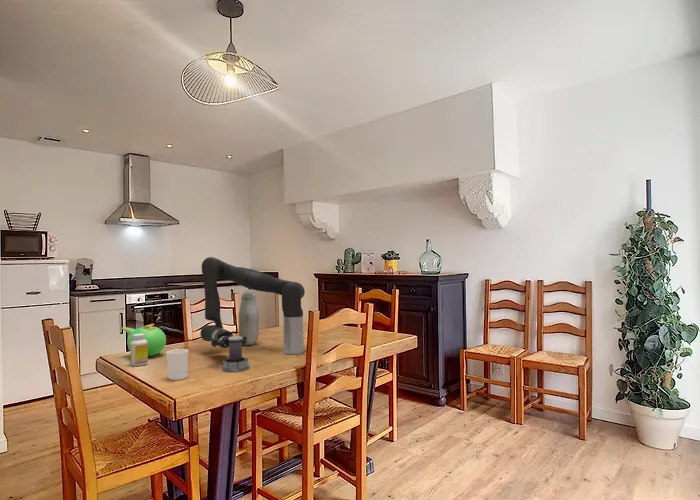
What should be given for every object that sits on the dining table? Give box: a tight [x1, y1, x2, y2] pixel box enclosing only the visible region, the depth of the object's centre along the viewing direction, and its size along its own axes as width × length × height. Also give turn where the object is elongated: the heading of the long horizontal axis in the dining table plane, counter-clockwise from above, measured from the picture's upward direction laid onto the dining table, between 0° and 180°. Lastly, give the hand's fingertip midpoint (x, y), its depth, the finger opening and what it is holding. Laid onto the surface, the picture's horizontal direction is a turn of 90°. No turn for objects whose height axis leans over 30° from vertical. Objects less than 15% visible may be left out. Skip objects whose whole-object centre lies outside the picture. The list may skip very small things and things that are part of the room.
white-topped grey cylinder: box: [228, 335, 243, 362], centre depth 177 cm, size 6×6×12 cm
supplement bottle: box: [129, 334, 149, 367], centre depth 185 cm, size 7×7×13 cm
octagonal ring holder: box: [221, 356, 250, 373], centre depth 177 cm, size 11×11×4 cm
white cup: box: [166, 348, 190, 381], centre depth 164 cm, size 8×8×10 cm
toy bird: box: [121, 323, 167, 357], centre depth 201 cm, size 18×17×15 cm
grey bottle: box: [238, 290, 260, 346], centre depth 226 cm, size 10×10×28 cm
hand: (234, 343), depth 179 cm, fingers open, 8 cm apart
